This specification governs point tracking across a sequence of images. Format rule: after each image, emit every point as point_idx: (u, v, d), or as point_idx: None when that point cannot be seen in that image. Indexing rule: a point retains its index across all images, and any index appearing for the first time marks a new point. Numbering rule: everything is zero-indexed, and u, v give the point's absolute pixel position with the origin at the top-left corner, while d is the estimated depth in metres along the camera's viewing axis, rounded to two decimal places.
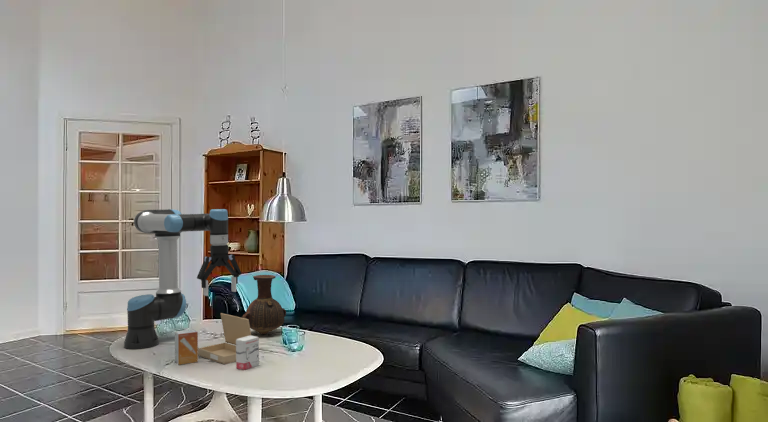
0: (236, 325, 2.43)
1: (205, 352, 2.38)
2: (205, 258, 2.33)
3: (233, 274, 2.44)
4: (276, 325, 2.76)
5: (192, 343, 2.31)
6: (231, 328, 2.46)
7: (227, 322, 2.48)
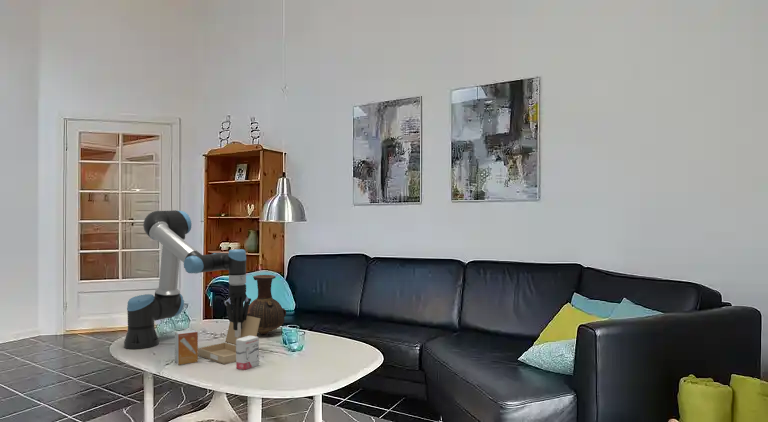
0: (244, 324, 2.46)
1: (205, 352, 2.38)
2: (225, 303, 2.40)
3: (238, 319, 2.46)
4: (276, 325, 2.76)
5: (192, 343, 2.31)
6: None
7: None
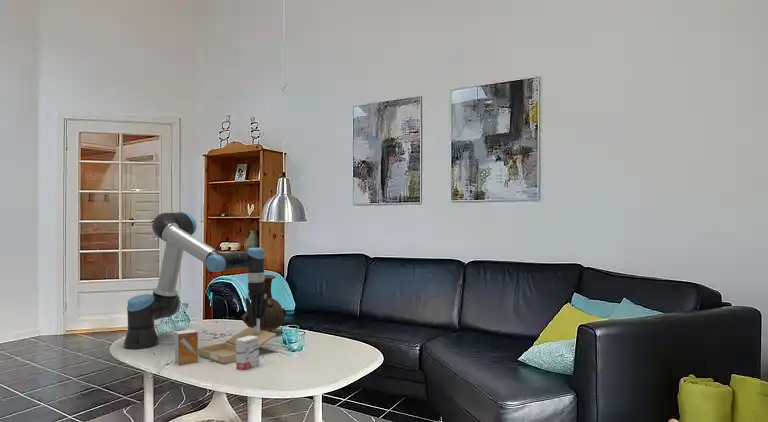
0: (256, 334, 2.51)
1: (205, 352, 2.38)
2: (245, 300, 2.47)
3: (257, 316, 2.53)
4: (276, 325, 2.76)
5: (192, 343, 2.31)
6: (247, 335, 2.52)
7: (249, 332, 2.56)
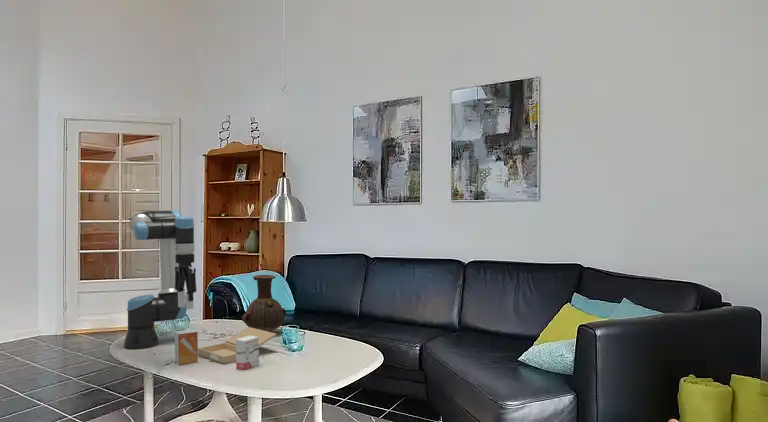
0: (256, 334, 2.51)
1: (205, 352, 2.38)
2: None
3: None
4: (276, 325, 2.76)
5: (192, 343, 2.31)
6: (247, 335, 2.52)
7: (249, 332, 2.56)
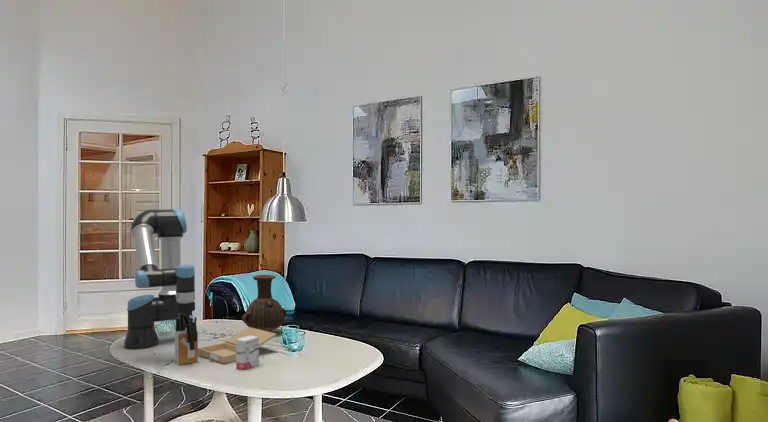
0: (256, 334, 2.51)
1: (205, 352, 2.38)
2: None
3: None
4: (276, 325, 2.76)
5: None
6: (247, 335, 2.52)
7: (249, 332, 2.56)
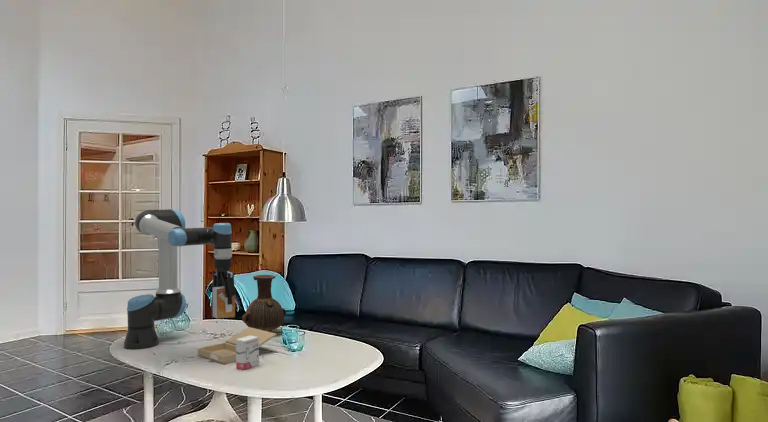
0: (256, 334, 2.51)
1: (205, 352, 2.38)
2: None
3: None
4: (276, 325, 2.76)
5: None
6: (247, 335, 2.52)
7: (249, 332, 2.56)
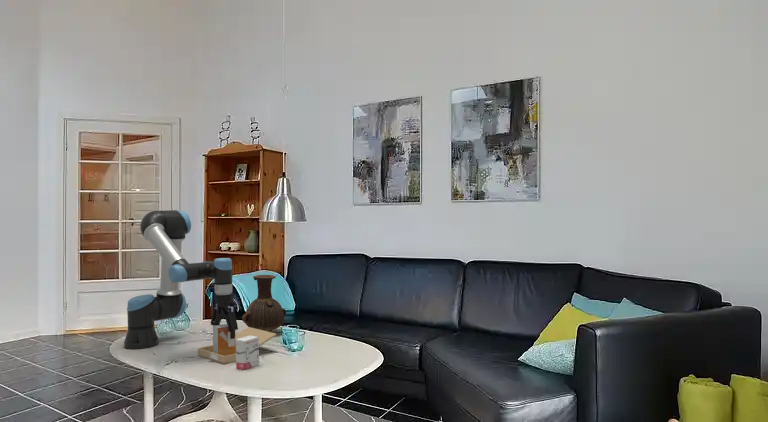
0: (256, 334, 2.51)
1: (205, 352, 2.38)
2: None
3: None
4: (276, 325, 2.76)
5: None
6: (247, 335, 2.52)
7: (249, 332, 2.56)
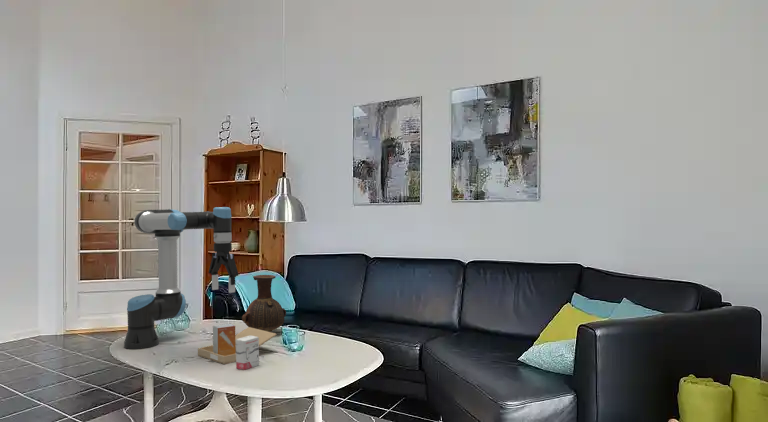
0: (256, 334, 2.51)
1: (205, 352, 2.38)
2: None
3: None
4: (276, 325, 2.76)
5: (231, 336, 2.39)
6: (247, 335, 2.52)
7: (249, 332, 2.56)
